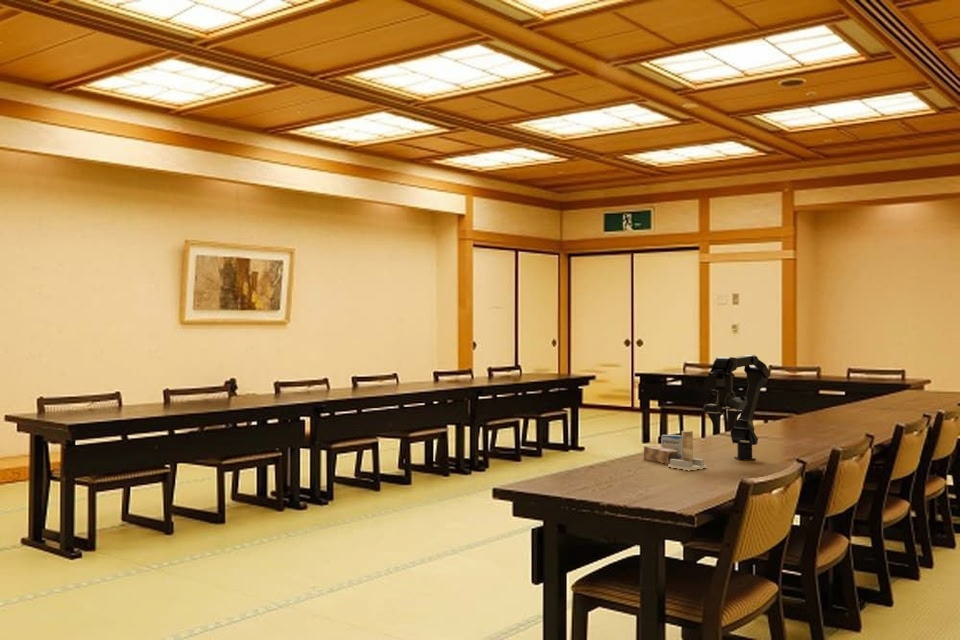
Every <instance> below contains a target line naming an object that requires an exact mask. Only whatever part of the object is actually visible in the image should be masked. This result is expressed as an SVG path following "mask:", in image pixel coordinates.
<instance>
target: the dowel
mask: <svg viewBox="0 0 960 640" xmlns="http://www.w3.org/2000/svg"><path fill="white" fill-rule="evenodd" d="M693 432H694V431H693V430H681V436H682V456H681V460H684V461H690V462H692V465H693V458H694V451H693V449H694V448H693V447H694V446H693V445H694V441H693V440H694V438H693V437H694V434H693Z"/></svg>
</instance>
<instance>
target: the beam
mask: <svg viewBox="0 0 960 640" xmlns="http://www.w3.org/2000/svg"><path fill="white" fill-rule="evenodd" d="M679 458H680V457H679V454H678V451H676V450H672V449H667V448H662V447H661V446H657V445H645V446H644V445H643V459H644V460H646V459H647V461H650V460H652V461H651V462H654V461H657V462H656V463H658V462H661V463H660V464H662V463H665V464H664V465H667V464H670V459H677V460H680V459H679Z"/></svg>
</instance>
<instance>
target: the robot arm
mask: <svg viewBox="0 0 960 640" xmlns="http://www.w3.org/2000/svg"><path fill="white" fill-rule="evenodd" d="M741 367H743V368H744V369H743V371H744V373H745V374H746V377H745V379H746V381H747V383H748V384H747V385H748V386H747V390H746V394H745V395H743V396H740V397H737V396H736V392H735V391H733V378H735V377H736V375H735V374H734V373H733V372H734V371H736V370H737V369H738V368H741ZM770 375H771V372H770V370H769V368H768V366H767V365H766V363H764V362H763V361H761V359H759V357H758V356H757V355H755V354H745V355H742V356H736V357H735V356H734V357H731V356H717V357H715V360H714V361H713V364H712V366H711V369H710V371H709V372H708V373H707V376H705V378H704V380H703V386H704V388H705V389H706V390H707V391H710V392H711V391H714V395H716V401H715V402H714V403H708V404H707V403H706V404H704V406H703V412H705V414H706V415H708V418H709V419H710V421H711V423H712V426H713V427H714V429H715V431H719V430H720V419H721V416H722V415H723V412H722V411H725V410H726V413H727V418H728V422H729V423H728V424H729V427H730V438H731V442H732V444H736V447H737V449H736V450H737V451H736V452H737V455H736V456H734V457H733V459H737V460H739V461H756V460H757V458H755V457H753V446H757V444H758V440H759V438H758V436H757V434H756V433H755V426H754V424H753V423H754V422H753V419H754V415H755V412H756V408H757V404H758V401H759V398H760V397H759V396H760V393H761V390H762V388H763V387H764V386H766V385H767V383H768V380H769V378H770Z"/></svg>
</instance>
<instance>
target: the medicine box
mask: <svg viewBox="0 0 960 640" xmlns="http://www.w3.org/2000/svg"><path fill="white" fill-rule="evenodd" d="M660 442H661V446H660V447H662V448H667V449H672V450H676V451H678V454H679V458H682V434H681V435H678V434H677V435H676V434H662V435H661V441H660Z"/></svg>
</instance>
